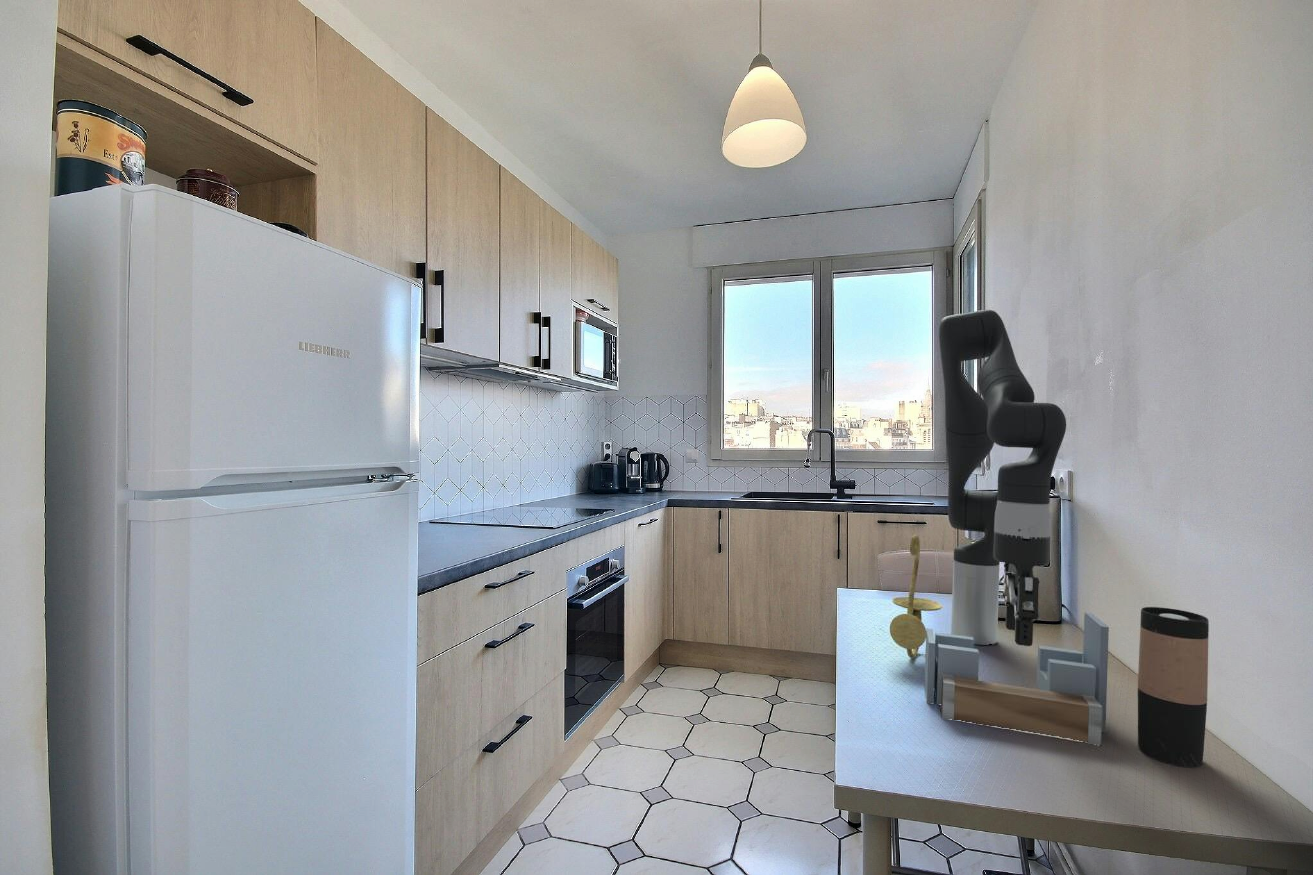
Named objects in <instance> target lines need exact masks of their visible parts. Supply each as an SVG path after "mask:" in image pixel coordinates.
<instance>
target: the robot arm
mask: <svg viewBox="0 0 1313 875" xmlns="http://www.w3.org/2000/svg"><path fill="white" fill-rule="evenodd" d="M938 342H939V351H940V352H939V353H940V360H941V366H942V367H941V368H942V374H943V385H944V386H943V387H944V412H945V413H944V417H945V418H944V423H945V425H944V426H945V439H946V440H945V442H946V454H947V465H948V489H947V490H948V492H947V514H948V515H947V516H948V521H949V524H950V526H951V527H952V528H953V529H954V530H955V529H956V530H958V531H967V532H978V533H983V534H984V536H983V537H982V538H980V539H979V540H977V541H975V542H971V543H968V544H967V543H966V544H962V545H958V546H956V547H955V548H954V550H953V564H952V565H953V567H952V569H953V570H952V594H951V595H952V600H951V603H952V604H951V622H950V625H951V626H950V628H951V629H950V634H953V635H961V636H968V637H973V639H974V645H983V646H990V645H989V644H992V645H996V644H997V643H998V627H999V626H998V625H999V624H998V623H999V620H998V619H999V596H1000V595H999V594H1000V563H1003V568H1004V569H1003V570H1004V571H1003V588H1002V589H1003V591H1002V596H1003V600H1004V601H1003V602H1004V605H1005V628H1006V629H1007V630H1010V631H1014V642H1015V643H1016V645H1018V646H1024V647H1025V646H1026V647H1032V645H1033V643H1034V642H1033V640H1034V639H1033V638H1034V637H1033V636H1034V634H1033V633H1034V622H1035V621H1036V620H1038V618H1039V588H1040V587H1039V584H1040V580H1039V577H1035V576H1034V569H1033V568H1034V567H1046V566H1048V565H1049V564H1050V562H1051V561H1050V555H1051V528H1052V526H1051V525H1052V524H1051V523H1052V522H1051V521H1052V516H1051V510H1050V500H1051V498H1050V497H1051V477H1052V474H1053V469H1054V466H1055V462H1056V460H1057V456H1058V454H1059V451H1060V448H1061V446H1062V443H1063V440H1064V438H1065V435H1066V432H1067V431H1066V430H1067V419H1066V416H1065V413H1064V412H1063V410H1062V409H1061V407H1060V406H1058V405H1057V404H1054V403H1051V402H1035V399H1036V398H1035V391H1034V389H1033V387H1032V386H1031V384H1030V382H1029V380H1027V378H1026V376H1025V375H1024V373H1023V372H1022V370H1021V368H1020V367H1019V365H1018V363H1017V359H1016V356H1015V352H1014V349H1013V347H1012V343H1011V341H1010V337H1009V334H1008V332H1007V330H1006V326H1005V323H1004V321H1003V319H1002V317H1001V316H1000V315H999V313H997V311H995V310H992V309H981V310H976V311H975V310H974V311H969V312H963V313H957V314H952V315H947V316H945V317H943V318H942V319H941V321H940V323H939V328H938ZM985 358H986V360H985V361H984V363H983V364H982V366H981V368H980V369H979V371H978V375H977V387H978V390H979V392H980V394H979V393H978V392H977V391H976V390H975V389H974V388H973V387H972V385H971V384H970V383H969V381H968V380H967V378H966V377H965V375H964V373H963V371H962V368H961V366H962V365H961V364H962V362H966V361H972V360H980V359H985ZM995 445H997V446H999V447H1004V448H1020V449H1021V448H1022V449H1023V448H1024V449H1031V450H1032V451H1031V452H1030V454H1029V455H1028V457H1027V458H1026V459H1025V460H1023V461H1016V462H1010V463H1005V464H1003V465H1001V466H1000V467H999V468H998V473H997V491H990V490H978V489H977V490H974V489H966V485H967V482H968V480H969V479H970V477H971V475H972V474H973V473H974V472H975V470H976V469H978V467H979V466H980V465H981V464H982V463H983V461H984V460H985V459H986V458H987V457H988V455H989V454H990V453H991V451H992V450H993V447H994V446H995ZM1023 607H1027V608H1029V609H1024V608H1023ZM996 642H997V643H996ZM995 643H996V644H995Z"/></svg>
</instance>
